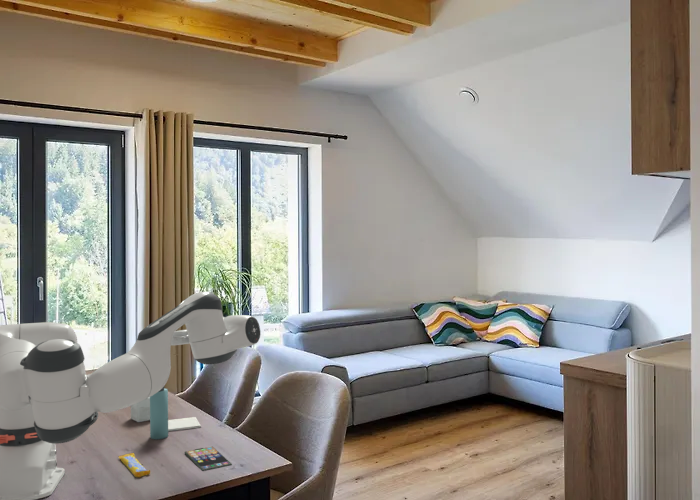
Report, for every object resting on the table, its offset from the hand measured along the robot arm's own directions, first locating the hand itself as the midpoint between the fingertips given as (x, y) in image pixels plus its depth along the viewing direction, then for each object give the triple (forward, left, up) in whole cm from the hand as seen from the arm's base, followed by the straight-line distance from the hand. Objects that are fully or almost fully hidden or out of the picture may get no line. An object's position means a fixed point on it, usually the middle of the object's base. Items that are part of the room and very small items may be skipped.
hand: (180, 336), depth 184 cm
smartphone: (-14, -5, -32) cm, 36 cm away
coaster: (+20, -3, -32) cm, 37 cm away
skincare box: (+32, +8, -32) cm, 46 cm away
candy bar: (-12, +14, -32) cm, 37 cm away
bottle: (+11, +5, -32) cm, 34 cm away
